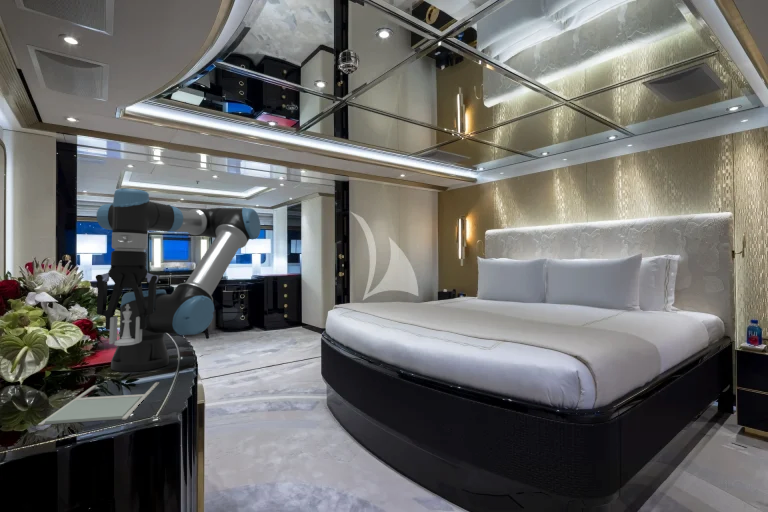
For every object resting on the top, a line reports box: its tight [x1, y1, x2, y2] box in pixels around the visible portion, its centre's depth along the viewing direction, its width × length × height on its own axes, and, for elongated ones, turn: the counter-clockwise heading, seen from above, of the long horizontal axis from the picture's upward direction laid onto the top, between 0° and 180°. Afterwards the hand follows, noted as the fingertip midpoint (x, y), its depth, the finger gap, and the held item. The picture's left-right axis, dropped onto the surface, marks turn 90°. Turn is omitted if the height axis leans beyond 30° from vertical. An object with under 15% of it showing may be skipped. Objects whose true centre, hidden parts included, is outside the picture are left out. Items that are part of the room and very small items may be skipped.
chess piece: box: [113, 304, 137, 347], centre depth 98 cm, size 5×5×10 cm
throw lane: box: [37, 381, 160, 427], centre depth 88 cm, size 25×15×1 cm, turn 17°
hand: (125, 342), depth 98 cm, fingers closed on chess piece, 5 cm apart
